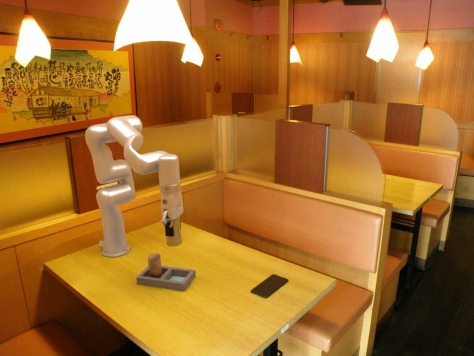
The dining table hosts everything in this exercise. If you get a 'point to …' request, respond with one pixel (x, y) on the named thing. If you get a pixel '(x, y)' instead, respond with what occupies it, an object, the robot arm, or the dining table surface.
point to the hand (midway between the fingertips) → (173, 232)
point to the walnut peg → (154, 266)
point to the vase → (175, 234)
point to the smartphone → (269, 286)
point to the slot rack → (174, 283)
